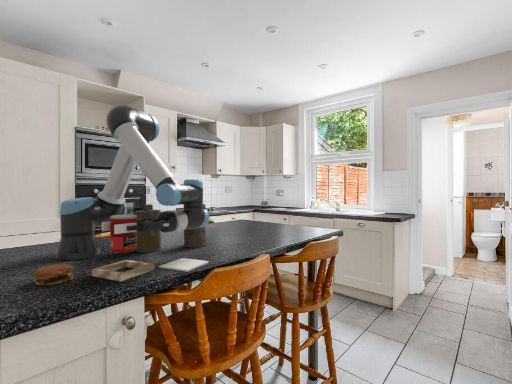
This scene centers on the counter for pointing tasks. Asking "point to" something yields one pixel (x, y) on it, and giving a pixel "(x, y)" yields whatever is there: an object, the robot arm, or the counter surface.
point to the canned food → (122, 234)
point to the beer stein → (195, 237)
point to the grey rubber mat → (184, 264)
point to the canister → (148, 232)
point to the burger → (53, 274)
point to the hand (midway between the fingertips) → (108, 228)
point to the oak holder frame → (110, 273)
